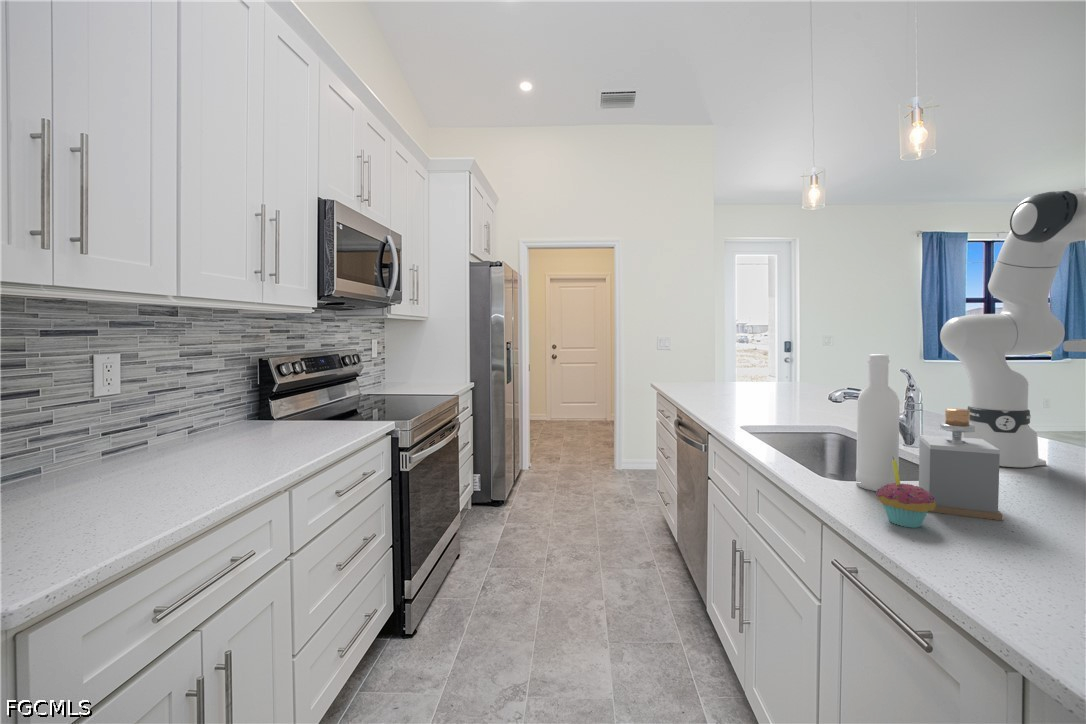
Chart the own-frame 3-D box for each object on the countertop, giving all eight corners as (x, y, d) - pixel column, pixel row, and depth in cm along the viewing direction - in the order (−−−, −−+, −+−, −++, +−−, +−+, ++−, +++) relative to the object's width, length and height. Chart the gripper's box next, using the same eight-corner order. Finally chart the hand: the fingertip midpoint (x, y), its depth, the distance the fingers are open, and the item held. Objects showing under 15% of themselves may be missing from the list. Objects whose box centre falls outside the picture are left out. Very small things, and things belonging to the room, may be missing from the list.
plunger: (927, 490, 99) (928, 406, 98) (974, 496, 95) (976, 408, 94) (935, 502, 92) (937, 411, 92) (987, 508, 89) (989, 413, 88)
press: (915, 494, 101) (916, 434, 101) (983, 501, 96) (984, 438, 95) (926, 511, 92) (927, 445, 91) (1002, 520, 86) (1004, 450, 86)
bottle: (865, 491, 104) (867, 355, 102) (849, 481, 111) (850, 354, 110) (906, 493, 102) (909, 354, 101) (887, 482, 110) (888, 353, 108)
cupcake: (870, 522, 87) (871, 458, 87) (884, 510, 93) (885, 450, 92) (929, 536, 81) (930, 467, 80) (940, 523, 86) (941, 458, 85)
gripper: (1192, 324, 80) (1069, 327, 90) (1206, 324, 67) (1061, 327, 77) (1190, 361, 80) (1068, 360, 91) (1204, 369, 67) (1060, 366, 78)
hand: (1065, 345), depth 84 cm, fingers open, 8 cm apart
